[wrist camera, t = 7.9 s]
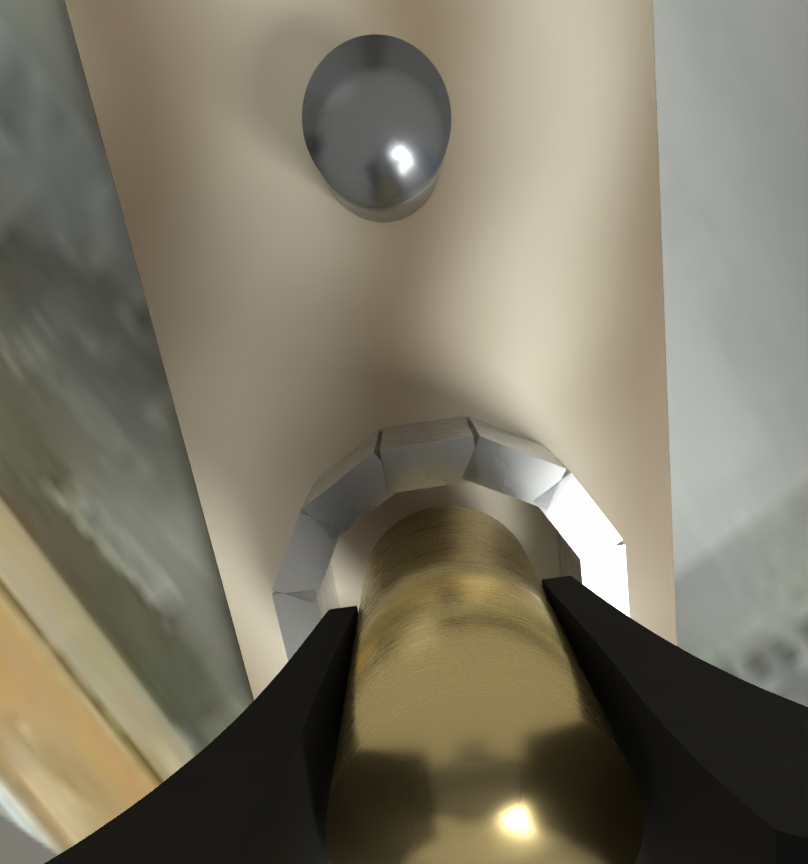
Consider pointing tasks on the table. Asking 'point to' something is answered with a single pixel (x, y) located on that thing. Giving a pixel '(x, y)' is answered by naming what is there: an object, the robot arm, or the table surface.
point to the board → (396, 269)
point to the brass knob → (471, 714)
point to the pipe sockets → (431, 440)
